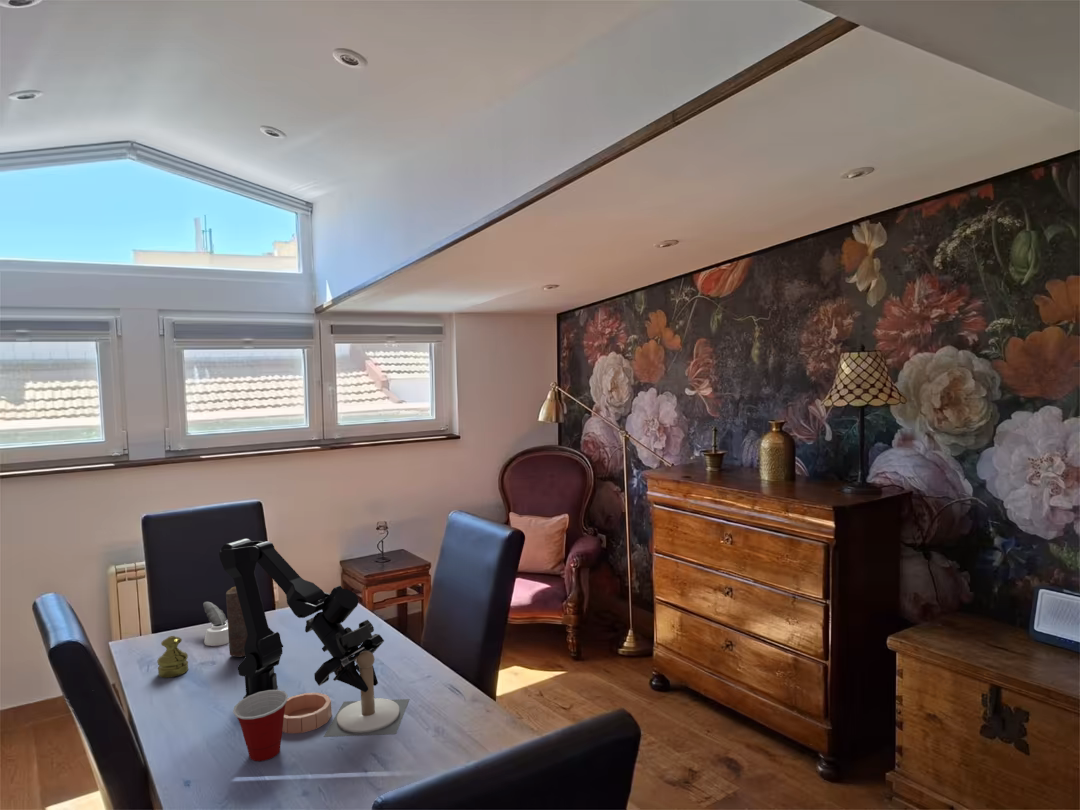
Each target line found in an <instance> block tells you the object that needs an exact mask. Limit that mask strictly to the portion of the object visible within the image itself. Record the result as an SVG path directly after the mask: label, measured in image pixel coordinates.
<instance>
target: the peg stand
mask: <svg viewBox="0 0 1080 810" xmlns="http://www.w3.org/2000/svg"><path fill="white" fill-rule="evenodd" d="M375 659H376V658H375V655H374V653H373V654H372V653H371V652H370V651H363V652H361V653H360V654H359V655H358V657H357V663H356V664H358V666H359V671H360V672H359V675H360V676H361V678H362V679H363V680H364V682H365V683H366V685H367V687H368V691H367V692H363V691H361V690H360V700H356V701H357V702H355V703H352V704H350V705H348V706H346V707H345V708H343V709H342V710H341V711H340V712H339V713H338V715H337V724H338V726H339V727H340V728H341V729H342V730H345V731H348V732H353V733H365V732H371V731H376V730H379V729H382V728H384V727H387V726H389V725H390V724H392V723H393V722H394V721H395V720H396V719H397V718H398V716H399V706H398V704H397V703H396V702H394V701H392V700H393V699H387V698H382V697H381V698H380V697H378V698H377V697H376V698H375V686H374V681H373V667H374V663H375Z"/></svg>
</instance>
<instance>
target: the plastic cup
mask: <svg viewBox="0 0 1080 810" xmlns="http://www.w3.org/2000/svg"><path fill="white" fill-rule="evenodd" d="M288 696H289V695H288V694H287V692H285V691H284V690H280V689H276V690H267V691H262V692H258V693H255V694H253V695H250V696H248V697H246V698H244V699H243V698H242V699H241V700H239V701H238V702H237V704H236V705H235V706H234V707H233V710H232V713H233V714H234V716H235V718H237V720H238V723H239V724H240V727H241V730H242V734H243V738H244V742H245V743H244V744H245V746H246V749H247V753H248V755H249V759H250V760H252V761H254V762H265V761H268V760H270V759H273V758H275V757H276V756H277V755H278V754H280V752H281V744H282V743H281V742H282V738H283V732H282V730H283V719H284V712H285V705H286V702H287V699H288V698H289V697H288Z"/></svg>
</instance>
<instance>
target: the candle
mask: <svg viewBox="0 0 1080 810" xmlns="http://www.w3.org/2000/svg"><path fill="white" fill-rule="evenodd" d="M225 598H226V599H225V600H226V615H227V617H226V618H227V623H228V635H229V643H228V646H229V647H228V649H229V656H231V657H239V658H240V657H245V651H244V646H245V643H246V639H247V635H248V634H247V629H246V625H245V622H244V618H243V614H242V610H241V606H240V602H239V598H238V594H237V590H236V586H233V587H231V588H229V589H228V590H227V591H226V593H225Z"/></svg>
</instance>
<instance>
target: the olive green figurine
mask: <svg viewBox="0 0 1080 810" xmlns="http://www.w3.org/2000/svg"><path fill="white" fill-rule="evenodd" d="M182 640H183V639H182V637H180V636H175V635H170V636H168V637H166V638H165V639H163V640H162V641H161V643H160V644H161V646H163V647H165V648H166V650H165V651H164V652H163V653H162V655H160V656H159V657H157V662H156V663H157V665H158V667H157V675H158V677H159V678H163V679H166V678H167V679H169V678H170V679H171V678H176V677H178V676H181V675H183V674H185V673H187V672H188V671H189V661H188V657H189V655H188V653H187V652H186V651H184V650H182V649H180V648H179V644H180V643H181V642H182Z"/></svg>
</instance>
